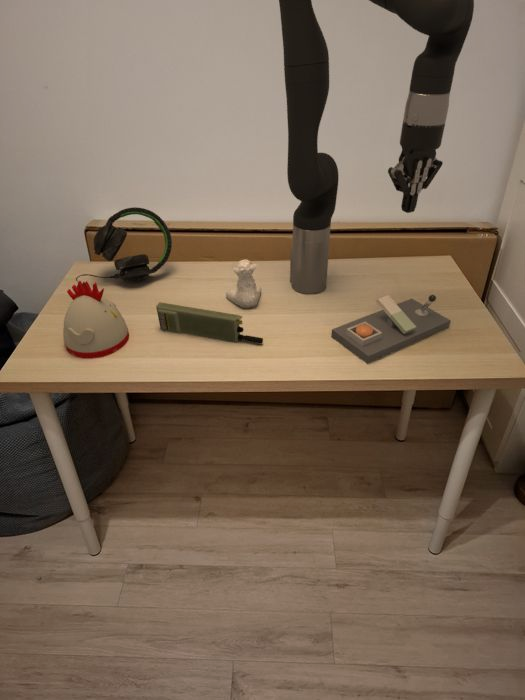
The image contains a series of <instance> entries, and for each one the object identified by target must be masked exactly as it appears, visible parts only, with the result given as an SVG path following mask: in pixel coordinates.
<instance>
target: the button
mask: <svg viewBox="0 0 525 700" xmlns="http://www.w3.org/2000/svg"><path fill="white" fill-rule="evenodd" d="M372 333H373V328H372V326H370V325H367V324H360V325H358V326H357V327H356V334H357V335H359V336H360V337H362V338H363V339H364V338H367V337H369V336H372Z"/></svg>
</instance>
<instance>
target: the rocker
mask: <svg viewBox="0 0 525 700" xmlns="http://www.w3.org/2000/svg"><path fill="white" fill-rule="evenodd" d="M375 302H376V304H377V305H378V306H379V307H380V308H381V310H384V311H385V313H386V314H387V315H388V316H389V317H390V318H391V320H392V321H393V322H394V323H395V324H396V325H397V327H398V328H399V329H400V330H401V331H402V332H403V334H405V333H408V332H410V331H412V330H415V328H416V326H415V325H414V324H413V322H412V321H411V320H410V319H409V318H408V317H407V316H406V315H405V313H404V312H403V311H402V310H401V309H400V308H399V307H398V305H397V304H398V303H396V302H395V301H394V300H393V299H392V297H391V296H390V295H388V294H387V295H384V296H382V297H380V298H377V300H376V301H375Z"/></svg>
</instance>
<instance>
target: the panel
mask: <svg viewBox="0 0 525 700" xmlns="http://www.w3.org/2000/svg"><path fill="white" fill-rule="evenodd" d="M396 304H397V305H398V307H399V308H400V309H401V310H402V311H403V312H404V313H405V315H406V316H407V317H408V318H409V319H410V320H411V321H412V322H413V324H414V325H415V326H416V328H415V330H412V331H410V332H408V333H405V334H403V332H402V331H401V330H400V329H399V328H398V327H397V325H396V324H395V323H394V322H393V321H392V320H391V318H390V317H389V316H388V315H387V314H386V313H385V311H384V310H383V309H381V310H379V311H375V312H373V313H370V314H368V315H365V316H363V317H361V318H360V317H359V318H357V319H355V320H353V321H350V322H348V323H345V324H342V325H340V326H337V327H335V328H334V327H333V328H332V329H331V335H330V336H331V338H332V339H333V340H335V341H336V342H338V343H339V345H341V346H343V347H344V348H346V349H347V350H348V351H349V352H351V353H352V354H353V355H355V356H356V357H357V358H358V359H360V360H362V361H363V362H365V363H366V364H367V365H368V364H370V363H373V362H375V361H377V360H379V359H381V358H383V357H386V356H388V355H391V354H392V353H394V352H395V353H396V352H397V351H400V350H402V349H404V348H406V347H408V346H411V345H413V344H415V343H417V342H418V343H419V342H420V341H422V340H425V339H427V338H429V337H431V336H433V335H435V334H438V333H440V332H442V331H445V330H447V329H449V328H450V325H451V323H452V322H451V319H449V318H447V317H445V316H444V315H442V314H440V313H438V312H437V311H435V310H433V309H431V308H430V307H428V308H427V309H426V310H425V311H424V312H422V311H421V308H422V307H423V306H424V304H423V303H421V302H419V301H418V300H415V299H413V298H412V297H411V298H409V299H406V300H405V301H404V300H403V301H402V302H399V303H396ZM360 324H367V325H370V326H372V328H373V333H372V336H369V337H367V338H364V339H363V338H362V337H360V336H359V335H357V334H356V327H357V326H358V325H360Z"/></svg>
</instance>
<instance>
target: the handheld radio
mask: <svg viewBox="0 0 525 700" xmlns="http://www.w3.org/2000/svg"><path fill="white" fill-rule="evenodd" d="M155 307H156V308H155V309H156V314H157V317H158V323H159V328H160V330H162V331H167V332H171V333H173V332H174V333H179V334H184V335H189V336H196V337H201V338H206V339H212V340H217V341H218V340H219V341H223V342H230V343H233V342H234V343H235V344H237V343H239V342H240V341H245V342H249V343H250V342H251V343H255V344H260V345H261V344H263V343H264V338H263V337H258V336H254V335H253V336H252V335H244V334H242V333H244V327H242V326H240V325H243V320H242V318H243V316H244V315H240V314H233V313H228V312H221V311H216V310H210V309H203V308H197V307H191V306H187V305H186V306H185V305H180V304H179V305H178V304H173V303H172V304H171V303H166V302H160V301H159V302H158V303H157V304H156V306H155Z"/></svg>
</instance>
